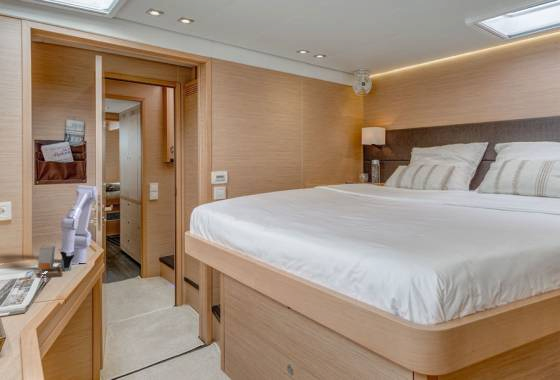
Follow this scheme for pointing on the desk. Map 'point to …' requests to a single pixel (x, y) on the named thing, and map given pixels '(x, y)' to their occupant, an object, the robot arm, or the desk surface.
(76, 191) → the robot arm
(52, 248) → the skincare box
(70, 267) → the cup
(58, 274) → the tray
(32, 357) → the desk surface
